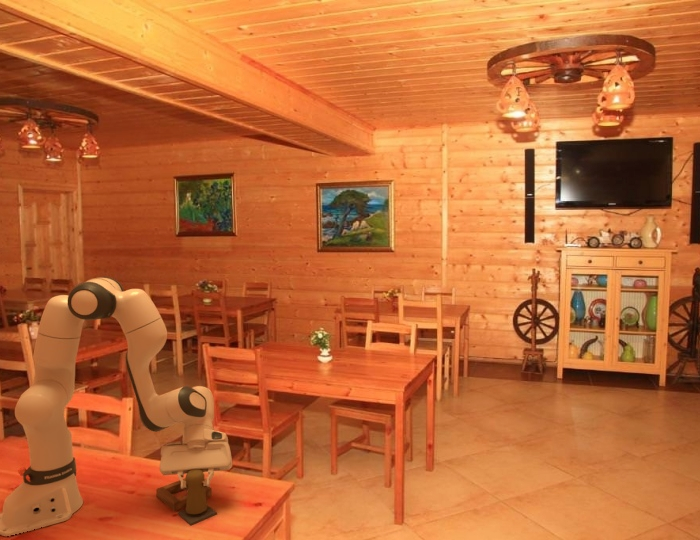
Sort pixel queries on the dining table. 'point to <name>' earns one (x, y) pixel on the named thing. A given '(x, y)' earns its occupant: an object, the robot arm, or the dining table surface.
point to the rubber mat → (197, 515)
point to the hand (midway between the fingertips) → (195, 487)
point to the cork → (195, 492)
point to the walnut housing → (171, 501)
